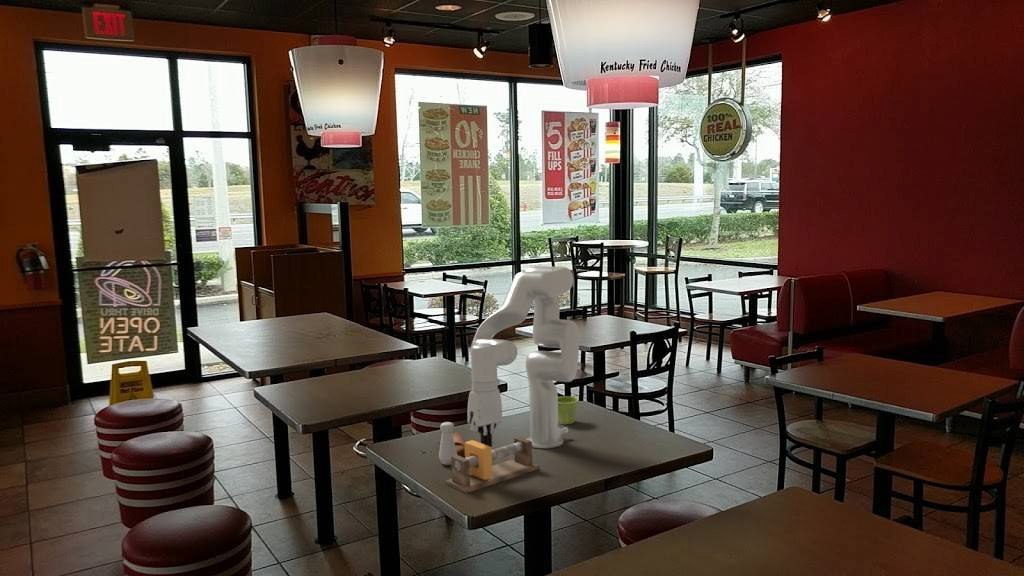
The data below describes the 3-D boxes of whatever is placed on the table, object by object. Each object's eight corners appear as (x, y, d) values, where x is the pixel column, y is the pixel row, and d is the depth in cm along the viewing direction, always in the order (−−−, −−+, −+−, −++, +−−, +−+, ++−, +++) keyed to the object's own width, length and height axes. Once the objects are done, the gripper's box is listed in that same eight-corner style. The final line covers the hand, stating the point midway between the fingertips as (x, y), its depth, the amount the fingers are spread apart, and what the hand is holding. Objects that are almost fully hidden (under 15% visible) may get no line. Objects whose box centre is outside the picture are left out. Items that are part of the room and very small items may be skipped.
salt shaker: (454, 466, 232) (453, 426, 231) (436, 465, 233) (435, 425, 232) (459, 460, 238) (458, 420, 236) (442, 459, 239) (440, 420, 238)
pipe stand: (517, 460, 236) (517, 434, 235) (539, 468, 228) (538, 441, 227) (445, 483, 218) (444, 455, 217) (466, 493, 210) (465, 464, 209)
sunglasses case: (436, 441, 257) (446, 424, 257) (454, 450, 259) (463, 433, 259) (444, 459, 240) (454, 440, 240) (463, 467, 241) (472, 449, 241)
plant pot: (571, 427, 270) (571, 404, 269) (548, 424, 274) (548, 401, 273) (583, 420, 278) (582, 398, 277) (560, 417, 282) (559, 395, 281)
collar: (473, 469, 224) (472, 440, 223) (492, 477, 217) (491, 447, 216) (465, 471, 222) (464, 442, 221) (484, 479, 215) (483, 449, 214)
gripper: (496, 379, 226) (497, 438, 228) (456, 388, 217) (458, 449, 219) (512, 383, 221) (513, 444, 222) (472, 392, 211) (474, 455, 213)
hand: (486, 446), depth 220 cm, fingers closed
